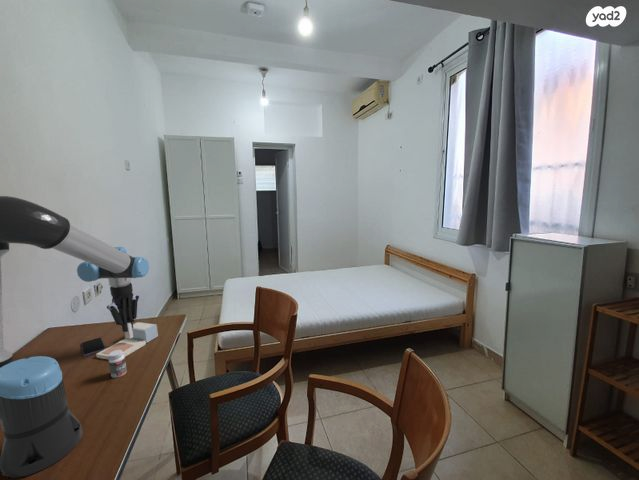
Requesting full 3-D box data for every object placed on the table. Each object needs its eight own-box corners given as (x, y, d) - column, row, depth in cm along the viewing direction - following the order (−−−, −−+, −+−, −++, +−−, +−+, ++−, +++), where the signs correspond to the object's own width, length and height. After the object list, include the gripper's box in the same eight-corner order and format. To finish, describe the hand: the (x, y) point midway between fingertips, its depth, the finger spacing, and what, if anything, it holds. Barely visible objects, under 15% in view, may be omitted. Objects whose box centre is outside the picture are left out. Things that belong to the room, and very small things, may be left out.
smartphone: (101, 336, 132) (105, 348, 121) (101, 339, 132) (105, 350, 121) (80, 342, 127) (83, 355, 116) (81, 345, 128) (83, 357, 117)
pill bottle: (119, 378, 102) (115, 357, 100) (107, 377, 103) (104, 355, 101) (130, 370, 106) (126, 349, 105) (119, 369, 107) (115, 348, 106)
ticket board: (117, 361, 113) (116, 357, 112) (96, 357, 116) (96, 353, 115) (145, 344, 125) (145, 340, 124) (126, 341, 128) (125, 337, 128)
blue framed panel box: (146, 342, 125) (144, 330, 124) (127, 339, 128) (125, 327, 127) (158, 336, 131) (156, 324, 130) (139, 333, 134) (137, 321, 133)
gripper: (112, 290, 112) (121, 346, 116) (141, 280, 124) (149, 331, 128) (98, 289, 114) (107, 344, 118) (128, 279, 126) (136, 329, 131)
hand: (129, 337), depth 123 cm, fingers closed
